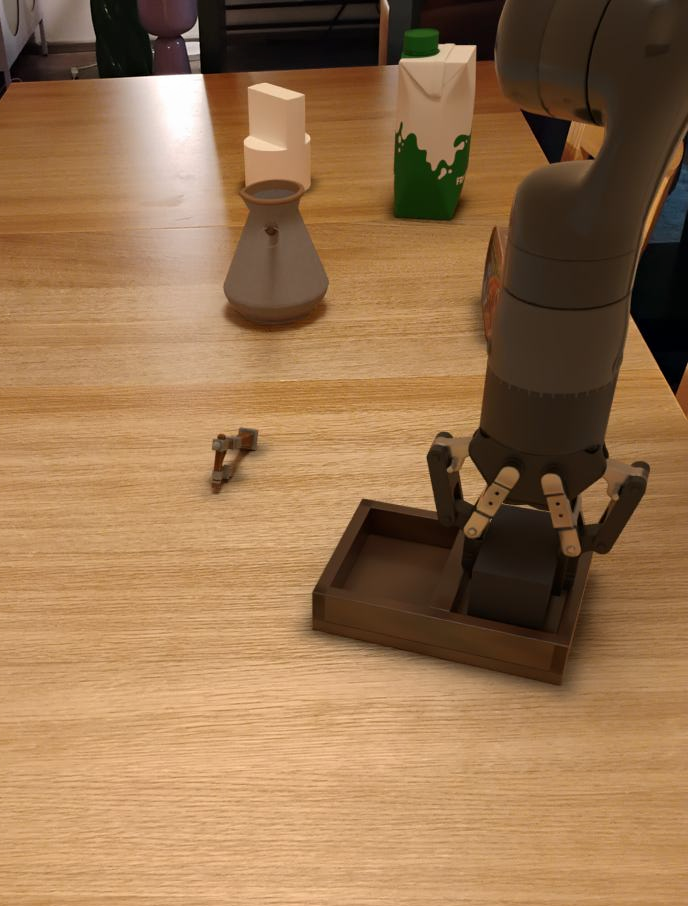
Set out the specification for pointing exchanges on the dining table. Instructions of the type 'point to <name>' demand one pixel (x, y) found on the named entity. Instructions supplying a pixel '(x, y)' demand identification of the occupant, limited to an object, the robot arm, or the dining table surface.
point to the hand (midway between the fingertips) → (515, 579)
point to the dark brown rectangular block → (515, 568)
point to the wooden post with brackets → (223, 443)
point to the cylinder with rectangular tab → (276, 136)
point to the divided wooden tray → (432, 596)
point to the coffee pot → (275, 257)
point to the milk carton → (432, 125)
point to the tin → (493, 274)
